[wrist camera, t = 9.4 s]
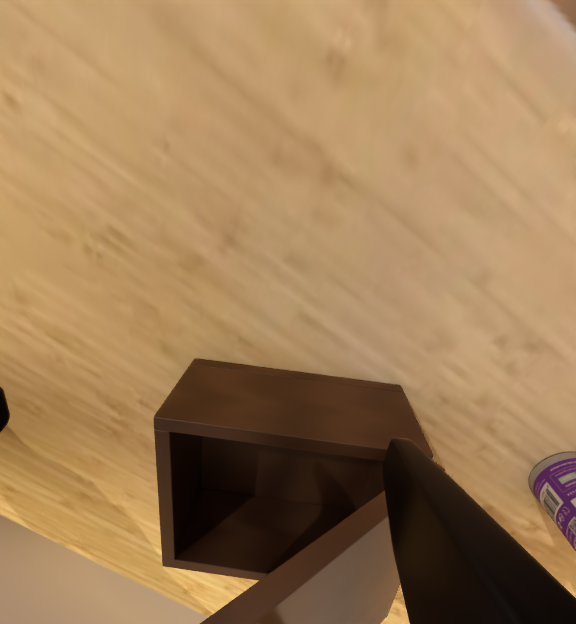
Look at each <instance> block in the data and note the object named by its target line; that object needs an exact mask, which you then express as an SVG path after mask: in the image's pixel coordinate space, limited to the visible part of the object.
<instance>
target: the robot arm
mask: <svg viewBox="0 0 576 624" xmlns="http://www.w3.org/2000/svg"><path fill="white" fill-rule="evenodd" d="M9 418H10V413H9V409H8V405H7V401H6V397H5V393H4V390H3V389H2V388H1V387H0V432H1V431H2V430H3V429H4V427H5V426H6V425H7V423H8V421H9ZM382 474H383V482H384V489H385V497H386V504H387V512H388V519H389V527H390V534H391V541H392V547H393V552H394V557H395V562H396V566H397V570H398V575H399V579H400V583H401V588H402V592H403V596H404V600H405V605H406V609H407V613H408V617H409V622H410V624H576V598H575V597H574V596H573V595H572V594H571V593H570V592H569V591H568V590H567V589H566V588H565V587H564V586H562V585H561V584H560V583H559V582H558V581H557V580H556V579H555V578H554V577H553V576H552V575H551V574H550V573H549V572H548V571H547V570H546V569H545V568H544V567H543V566H542V565H541V564H540V563H539V562H538V561H537V560H536V559H534V558H533V557H532V556H531V555H530V554H529V553H528V552H527V551H526V550H525V549H524V548H523V547H522V546H521V545H520V544H519V543H518V542H517V541H516V540H515V539H514V538H513V537H512V536H511V535H510V534H509V533H507V532H506V531H505V530H504V529H503V528H502V527H501V526H500V525H499V524H498V523H497V522H496V521H495V520H494V519H493V518H492V517H491V516H490V515H489V514H488V513H487V512H486V511H485V510H484V509H483V508H482V507H480V506H479V505H478V504H477V503H476V502H475V501H474V500H473V499H472V498H471V497H470V496H469V495H468V494H467V493H466V492H465V491H464V490H463V489H462V488H461V487H460V486H459V485H458V484H457V483H456V482H455V481H453V480H452V479H451V478H450V477H449V476H448V475H447V474H446V473H445V472H444V471H443V470H442V469H441V468H440V467H439V466H438V465H437V464H436V463H435V462H434V461H433V460H432V459H431V458H430V457H429V456H428V455H427V454H425V453H424V452H423V451H422V450H421V449H420V448H419V447H418V446H417V445H416V444H415V443H414V442H413V441H412V440H410V439H406V438H398V437H393V438H392V439H391V440H390V442H389V445H388V449H387V452H386V456H385V459H384V462H383V469H382Z"/></svg>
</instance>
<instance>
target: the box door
mask: <svg viewBox="0 0 576 624" xmlns="http://www.w3.org/2000/svg"><path fill="white" fill-rule="evenodd" d="M435 463H436V462H435ZM436 464H437V463H436ZM437 465H438V464H437ZM438 466H439V467H440V468H441V469H442V470H443V471H444V472H445V469H443V468H442V467H441V466H440V465H438ZM399 585H400V579H399V575H398V570H397V566H396V562H395V557H394V552H393V547H392V541H391V534H390V527H389V519H388V512H387V504H386V497H385V490H384V491H383V492H382V493H380V494H379V495H377V496H376V497H375V498H373V499H372V500H371V501H369V502H368V503H366V504H365V505H364V506H362V507H361V508H359V509H358V510H357V511H355V512H354V513H353V514H351V515H350V516H348V517H347V518H346V519H344V520H343V521H341V522H340V523H339V524H337V525H336V526H335V527H333V528H332V529H330V530H329V531H328V532H326V533H325V534H324V535H322V536H321V537H319V538H318V539H317V540H315V541H314V542H312V543H311V544H310V545H308V546H307V547H306V548H304V549H303V550H301V551H300V552H299V553H297V554H296V555H294V556H293V557H292V558H290V559H289V560H288V561H286V562H285V563H283V564H282V565H281V566H279V567H278V568H276V569H275V570H274V571H272V572H271V573H270V574H268V575H267V576H265V577H264V578H263V579H261V580H260V581H258V582H257V583H256V584H254V585H253V586H252V587H250V588H249V589H247V590H246V591H245V592H243V593H242V594H240V595H239V596H238V597H236V598H235V599H234V600H232V601H231V602H229V603H228V604H227V605H225V606H224V607H222V608H221V609H220V610H218V611H217V612H216V613H214V614H213V615H211V616H210V617H209V618H207V619H206V620H205V621H203V622H202V623H200V624H380V623H381V622H382V621H383V620H384V619H385V618H386V617H387V616H388V613H389V611H390V608H391V606H392V603H393V601H394V598H395V595H396V593H397V590H398V588H399Z"/></svg>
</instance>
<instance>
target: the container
mask: <svg viewBox="0 0 576 624" xmlns="http://www.w3.org/2000/svg"><path fill="white" fill-rule="evenodd" d="M529 486H530V489H531V490H532V492H533V493H534V495H535V496H536V498H537V499H538V500H539V502H540V503H541V505H542V506H543V507H544V509H545V510H546V511H547V513H548V514H549V515H550V517H551V518H552V520H553V521H554V522H555V524H556V525H557V526H558V528H559V529H560V530H561V532H562V533H563V535H564V536H565V537H566V539H567V540H568V541H569V543H570V544H571V545H572V547H573V548H574V550H575V551H576V452H567V453H561V454H557V455H554V456H551V457H549V458H547V459H545V460H544V461H542V462H541V463H539V464H538V465H537V466H536V467H535V468H534V469H533V471H532V472H531V475H530V477H529Z"/></svg>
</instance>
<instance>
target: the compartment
mask: <svg viewBox="0 0 576 624" xmlns="http://www.w3.org/2000/svg"><path fill="white" fill-rule="evenodd" d="M154 429H155V430H154V433H155V449H156V465H157V481H158V497H159V514H160V530H161V546H162V563H163V566H166V567H172V568H179V569H186V570H192V571H199V572H206V573H212V574H219V575H226V576H232V577H239V578H246V579H253V580H259V581H260V580H261V579H263V578H264V577H265V576H267V575H268V574H270V573H271V572H272V571H274V570H275V569H276V568H278V567H279V566H281V565H282V564H283V563H285V562H286V561H288V560H289V559H290V558H292V557H293V556H294V555H296V554H297V553H299V552H300V551H301V550H303V549H304V548H306V547H307V546H308V545H310V544H311V543H312V542H314V541H315V540H317V539H318V538H319V537H321V536H322V535H324V534H325V533H326V532H328V531H329V530H330V529H332V528H333V527H335V526H336V525H337V524H339V523H340V522H341V521H343V520H344V519H346V518H347V517H348V516H350V515H351V514H353V513H354V512H355V511H357V510H358V509H359V508H361V507H362V506H364V505H365V504H366V503H368V502H369V501H371V500H372V499H373V498H375V497H376V496H377V495H379V494H380V493H382V492H383V491H384V490H385V489H384V482H383V474H382V469H383V462H384V459H385V456H386V452H387V449H388V445H389V442H390V440H391V439H392V438H393V437H398V438H406V439H410V440H412V441H413V442H414V443H415V444H416V445H417V446H418V447H419V448H420V449H421V450H422V451H423V452H424V453H425V454H427V455H428V456H429V457H430V458H431V459H432V458H433V454H432V452H431V450H430V447H429V445H428V443H427V441H426V439H425V437H424V434H423V432H422V430H421V428H420V426H419V424H418V421H417V419H416V417H415V415H414V413H413V411H412V408H411V406H410V404H409V402H408V400H407V398H406V395H405V393H404V392H403V389H402V387H401V386H400V385H393V384H385V383H378V382H370V381H363V380H355V379H347V378H340V377H332V376H325V375H317V374H309V373H302V372H294V371H287V370H279V369H272V368H264V367H256V366H249V365H241V364H234V363H226V362H218V361H211V360H203V359H194V360H193V362H192V363H191V365H190V366H189V367H188V369H187V370H186V371H185V373H184V374H183V376H182V377H181V379H180V380H179V381H178V383H177V384H176V386H175V387H174V389H173V390H172V391H171V393H170V394H169V396H168V397H167V399H166V400H165V401H164V403H163V404H162V406H161V407H160V409H159V410H158V411H157V413H156V414H155V416H154Z"/></svg>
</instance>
